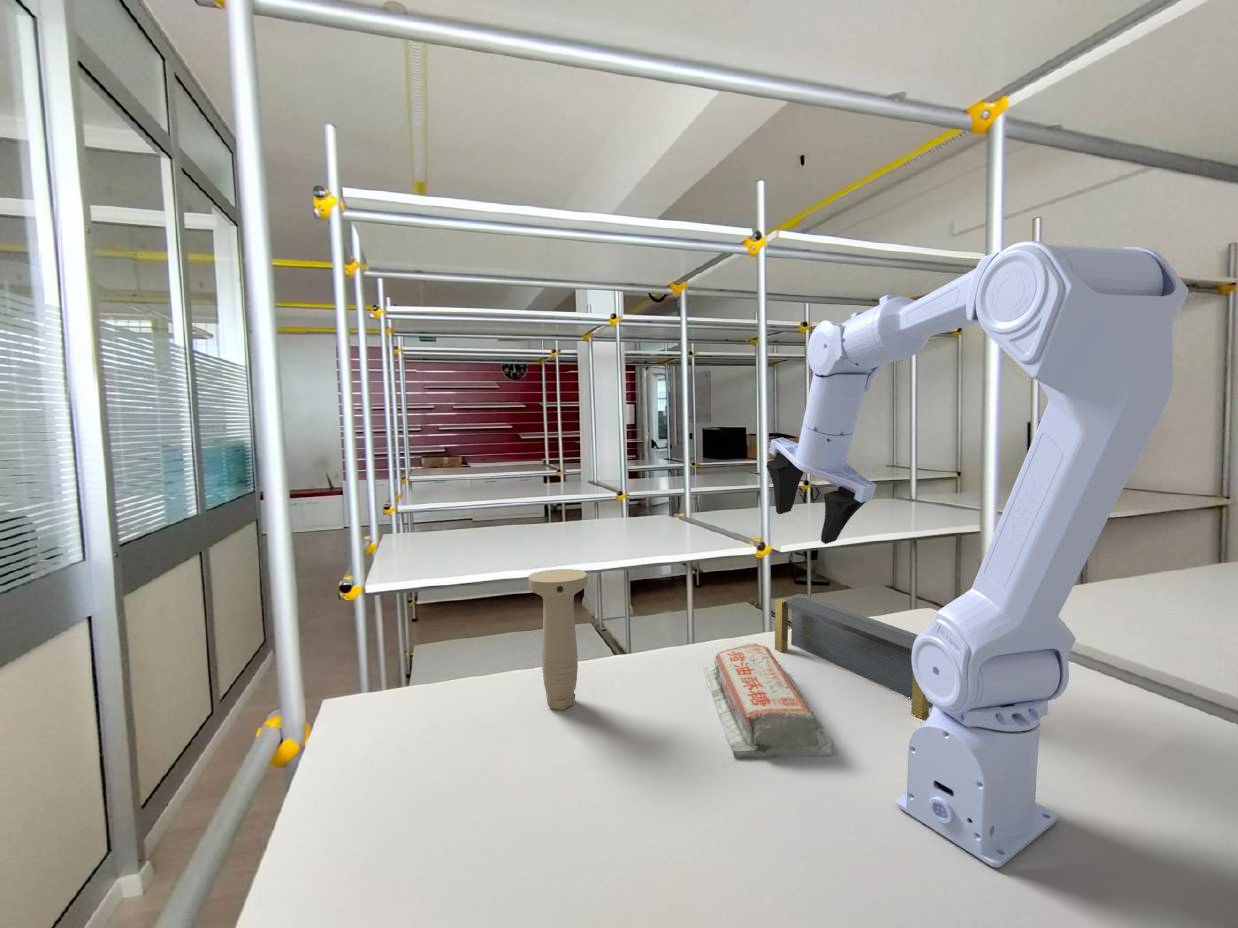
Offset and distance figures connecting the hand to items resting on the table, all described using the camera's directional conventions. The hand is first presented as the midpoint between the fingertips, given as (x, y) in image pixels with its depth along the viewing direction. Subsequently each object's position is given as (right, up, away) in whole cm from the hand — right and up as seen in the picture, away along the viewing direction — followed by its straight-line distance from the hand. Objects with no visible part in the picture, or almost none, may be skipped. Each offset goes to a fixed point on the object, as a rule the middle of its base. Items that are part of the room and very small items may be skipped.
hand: (805, 525), depth 72 cm
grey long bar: (+5, -18, -2) cm, 19 cm away
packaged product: (-8, -20, -9) cm, 23 cm away
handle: (-30, -20, -8) cm, 37 cm away
